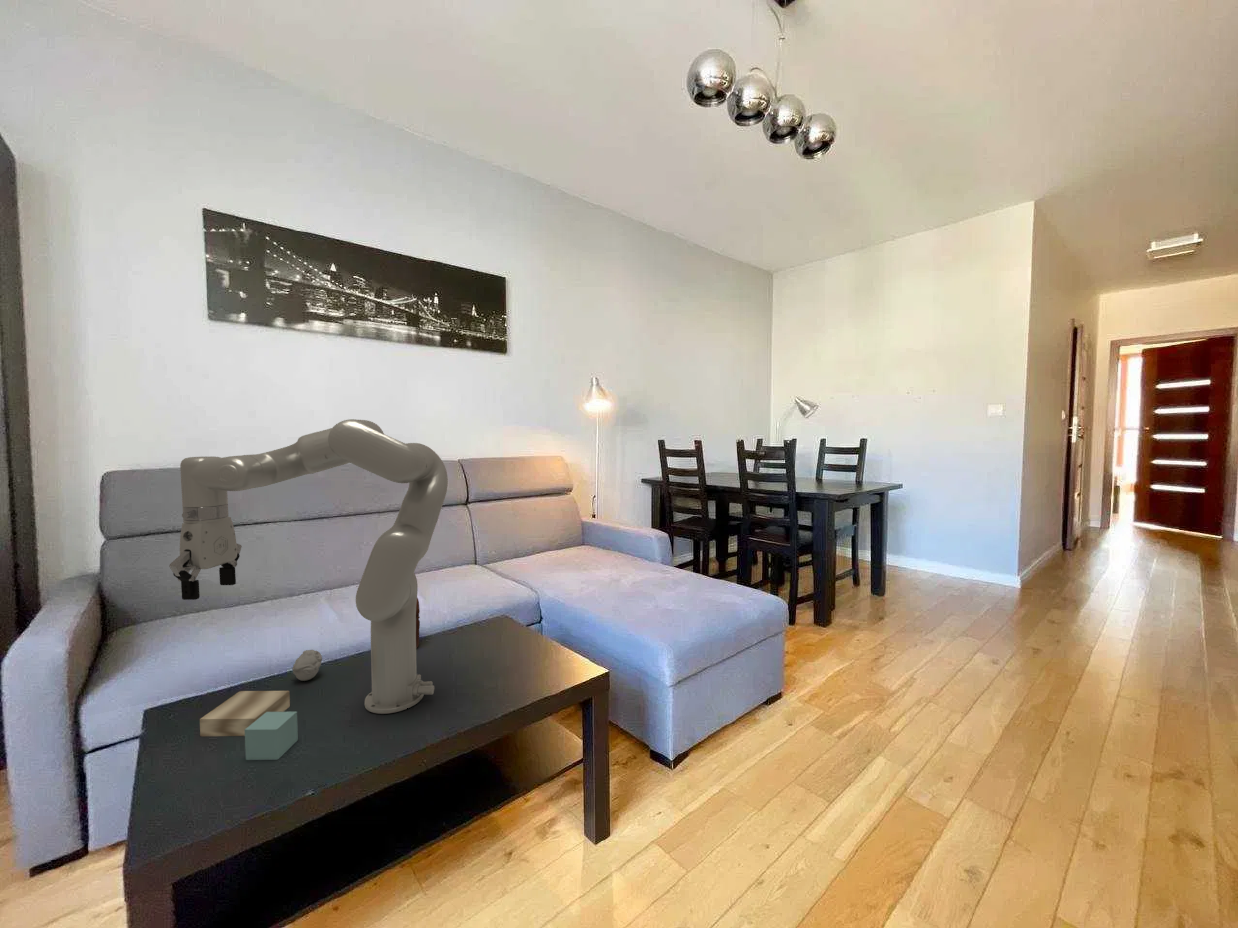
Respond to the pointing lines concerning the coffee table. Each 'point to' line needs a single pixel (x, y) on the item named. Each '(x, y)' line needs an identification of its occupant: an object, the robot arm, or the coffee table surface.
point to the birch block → (242, 712)
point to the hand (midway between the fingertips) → (210, 591)
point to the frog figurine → (307, 665)
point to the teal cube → (271, 735)
